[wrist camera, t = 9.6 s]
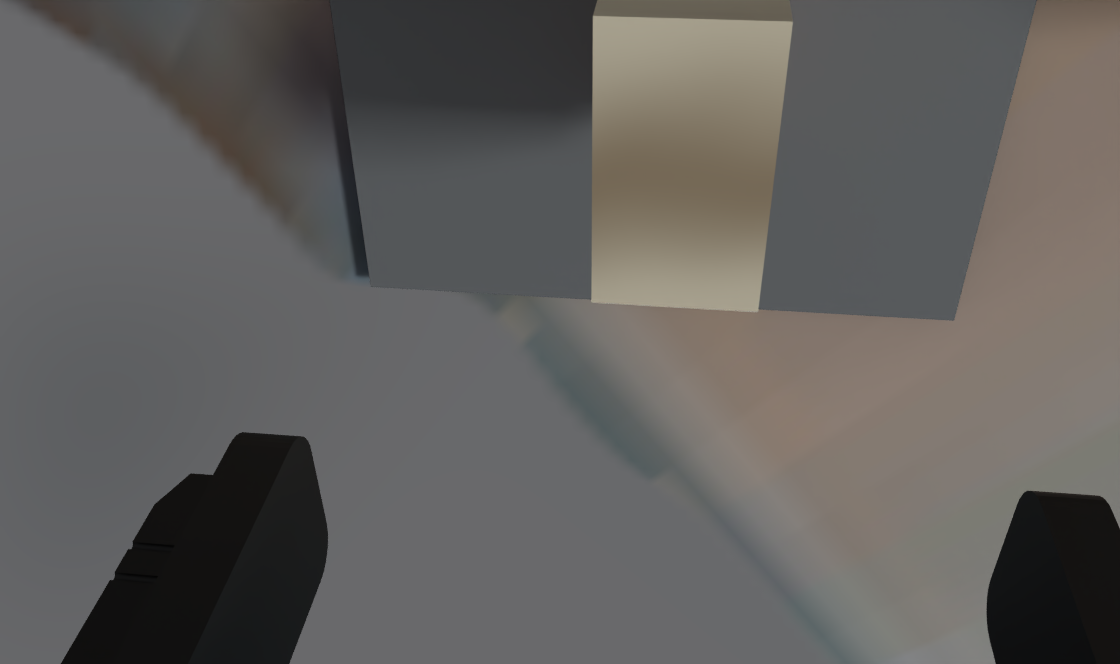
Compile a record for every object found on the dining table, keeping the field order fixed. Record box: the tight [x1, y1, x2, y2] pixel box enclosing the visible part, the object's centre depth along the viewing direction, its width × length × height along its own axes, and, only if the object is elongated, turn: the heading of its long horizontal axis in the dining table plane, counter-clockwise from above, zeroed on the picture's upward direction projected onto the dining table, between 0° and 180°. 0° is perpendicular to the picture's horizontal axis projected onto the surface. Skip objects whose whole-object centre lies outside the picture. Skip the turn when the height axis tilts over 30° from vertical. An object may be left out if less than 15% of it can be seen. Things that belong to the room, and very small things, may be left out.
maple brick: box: [591, 0, 793, 312], centre depth 21 cm, size 6×3×4 cm, turn 1°
